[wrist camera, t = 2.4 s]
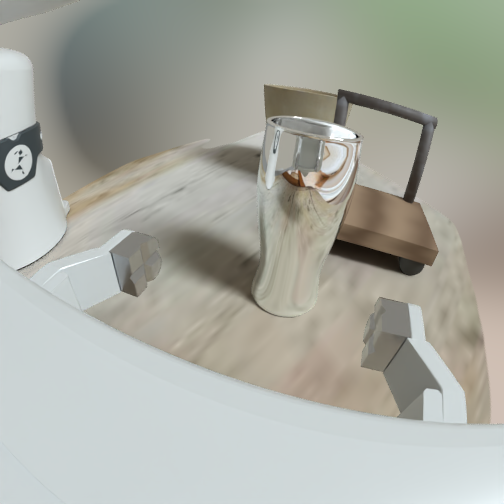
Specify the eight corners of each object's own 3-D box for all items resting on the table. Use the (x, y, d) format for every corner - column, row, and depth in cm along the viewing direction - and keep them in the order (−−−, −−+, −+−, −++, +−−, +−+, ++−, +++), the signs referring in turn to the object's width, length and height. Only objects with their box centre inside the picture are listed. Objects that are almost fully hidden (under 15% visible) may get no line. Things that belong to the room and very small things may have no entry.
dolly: (291, 247, 33) (318, 88, 22) (310, 200, 43) (330, 87, 33) (422, 283, 29) (479, 139, 19) (409, 228, 40) (442, 120, 29)
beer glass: (321, 327, 23) (377, 149, 15) (239, 313, 24) (255, 126, 15) (320, 275, 29) (357, 126, 20) (253, 263, 30) (269, 111, 21)
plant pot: (351, 194, 47) (371, 104, 38) (267, 193, 44) (280, 88, 34) (317, 164, 59) (328, 91, 49) (247, 161, 55) (254, 81, 46)
